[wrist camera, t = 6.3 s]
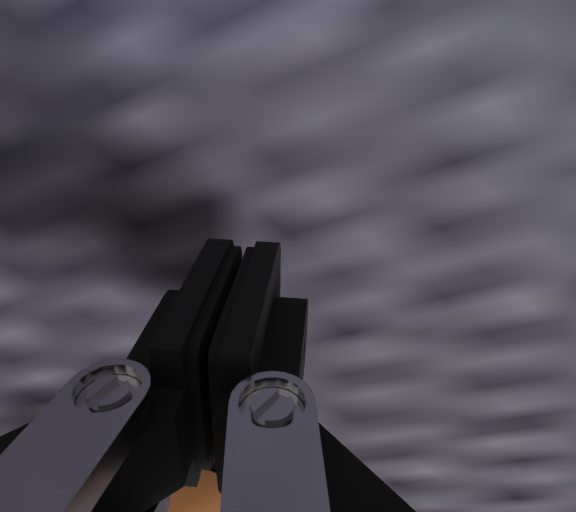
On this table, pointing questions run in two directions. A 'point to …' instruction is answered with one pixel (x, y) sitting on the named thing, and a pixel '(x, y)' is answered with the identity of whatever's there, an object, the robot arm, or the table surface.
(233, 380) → the robot arm
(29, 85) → the table surface
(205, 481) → the ball
